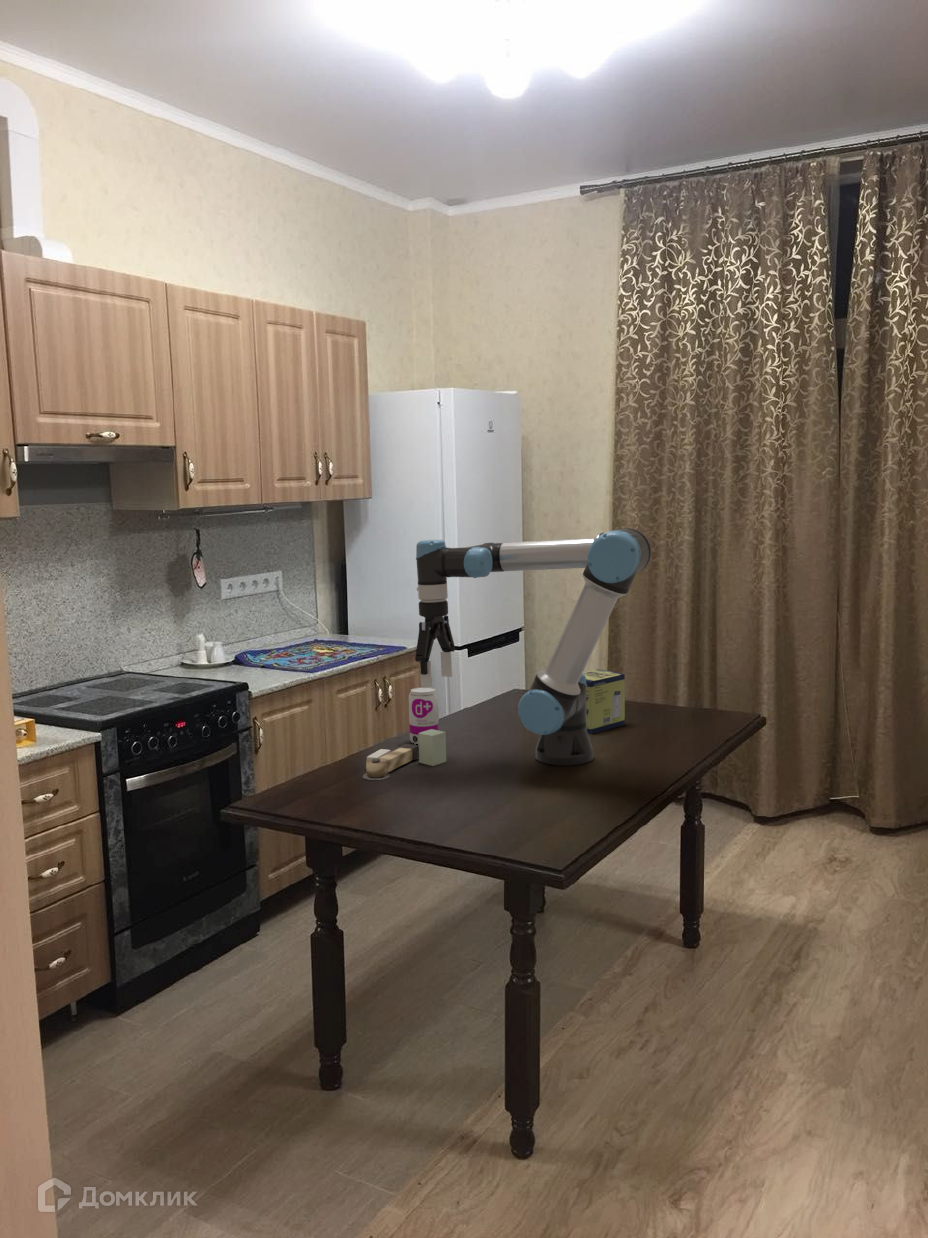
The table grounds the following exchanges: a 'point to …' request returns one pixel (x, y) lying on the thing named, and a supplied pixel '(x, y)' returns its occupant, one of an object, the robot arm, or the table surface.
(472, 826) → the table surface
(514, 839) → the table surface
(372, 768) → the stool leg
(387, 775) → the pivot plate
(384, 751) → the stop block
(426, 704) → the supplement can
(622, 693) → the protein box
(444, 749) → the tall sage green block
